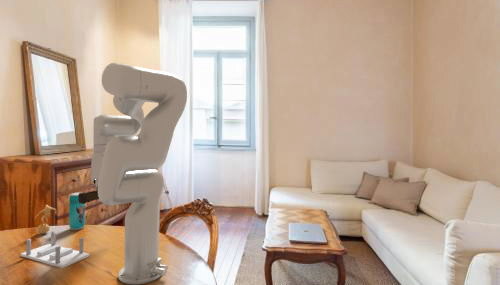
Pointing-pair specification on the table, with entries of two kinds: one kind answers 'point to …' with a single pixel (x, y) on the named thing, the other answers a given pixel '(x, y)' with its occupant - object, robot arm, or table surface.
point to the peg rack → (55, 253)
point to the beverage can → (76, 212)
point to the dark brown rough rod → (87, 197)
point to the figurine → (43, 227)
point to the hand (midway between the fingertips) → (104, 197)
